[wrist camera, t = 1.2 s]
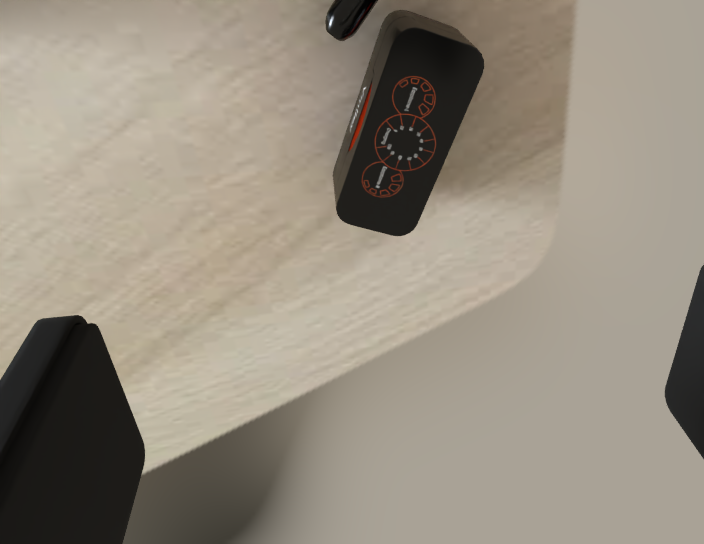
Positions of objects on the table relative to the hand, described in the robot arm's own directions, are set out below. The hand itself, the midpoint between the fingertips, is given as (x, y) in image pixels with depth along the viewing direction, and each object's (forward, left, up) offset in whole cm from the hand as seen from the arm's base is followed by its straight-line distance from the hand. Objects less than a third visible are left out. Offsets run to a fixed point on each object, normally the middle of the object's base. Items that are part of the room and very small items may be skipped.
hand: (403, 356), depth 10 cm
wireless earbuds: (-1, 0, -13) cm, 13 cm away
